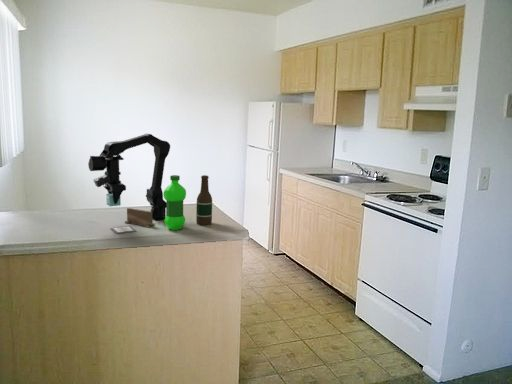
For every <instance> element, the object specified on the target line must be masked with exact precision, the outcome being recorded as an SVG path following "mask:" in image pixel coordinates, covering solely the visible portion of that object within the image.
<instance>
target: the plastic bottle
mask: <svg viewBox="0 0 512 384" xmlns="http://www.w3.org/2000/svg"><path fill="white" fill-rule="evenodd" d="M180 177H181V176H180V175H178V174H177V175H175V174H174V175H173V174H172V175H170V177H169V178H170V179H169V180H170V181H171V183H170V184H169V185H168V186H166V187H165V188H164V190H163V199H164V200H165V202H166V208H165V219H163V220H164V225H165V226H166V227H167V228H168V229H169V230H173V231H177V230H180V229H181V228H182V227H184V225H185V224H186V217H185V215H184V200H186V197H187V191H186V190H187V189H186V188H185V187H184V186H183V185H181V184H180V183H179V181H180Z"/></svg>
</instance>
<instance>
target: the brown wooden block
mask: <svg viewBox="0 0 512 384" xmlns="http://www.w3.org/2000/svg"><path fill="white" fill-rule="evenodd" d="M124 224H133V225H138V226H139V225H140V226H144V227H145V228H147V229H148V228H150V227H153V226H155V225H156V223H155V222H153V219H152V212H151V210H145V209H138V208H133V207H126V220H125V221H124Z"/></svg>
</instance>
